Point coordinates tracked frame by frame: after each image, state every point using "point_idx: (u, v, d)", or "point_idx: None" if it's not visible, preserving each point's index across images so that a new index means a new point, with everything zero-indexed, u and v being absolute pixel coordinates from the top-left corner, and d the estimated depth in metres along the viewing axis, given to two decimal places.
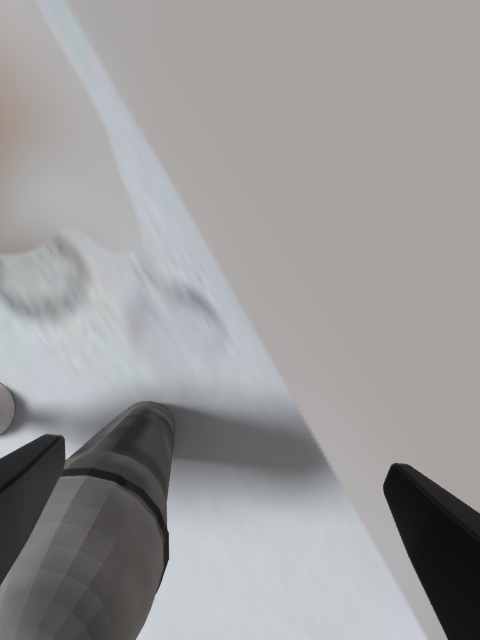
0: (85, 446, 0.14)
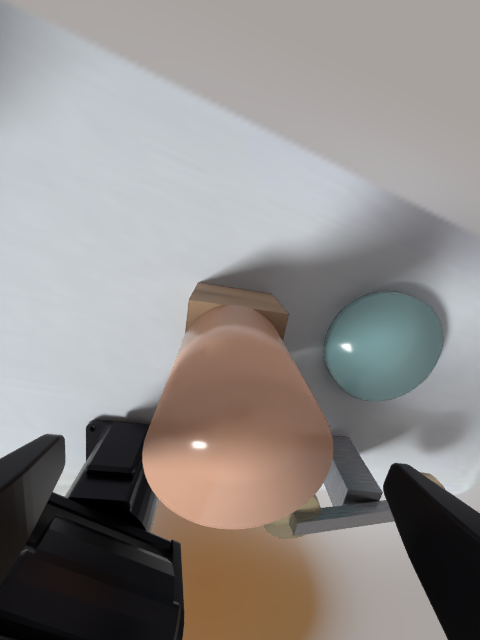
0: None
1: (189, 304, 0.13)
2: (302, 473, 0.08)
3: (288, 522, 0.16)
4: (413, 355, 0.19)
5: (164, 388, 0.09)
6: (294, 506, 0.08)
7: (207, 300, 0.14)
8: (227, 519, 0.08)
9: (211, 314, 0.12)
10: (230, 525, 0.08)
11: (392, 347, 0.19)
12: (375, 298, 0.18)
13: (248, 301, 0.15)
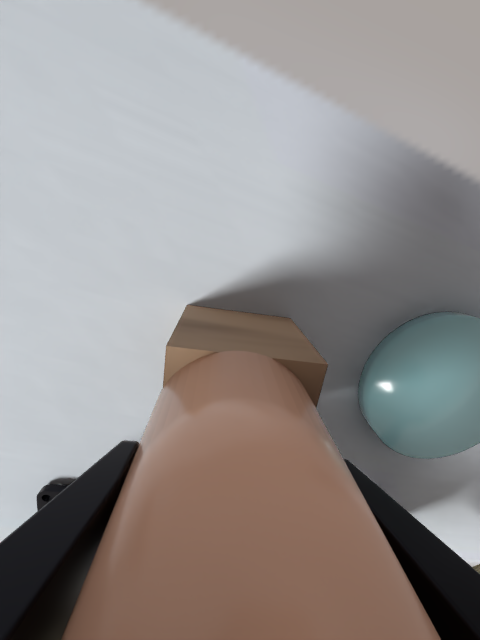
0: None
1: (167, 353, 0.08)
2: None
3: None
4: None
5: (68, 622, 0.03)
6: None
7: (197, 344, 0.08)
8: None
9: (197, 374, 0.07)
10: None
11: (455, 389, 0.13)
12: (436, 323, 0.12)
13: (261, 339, 0.10)
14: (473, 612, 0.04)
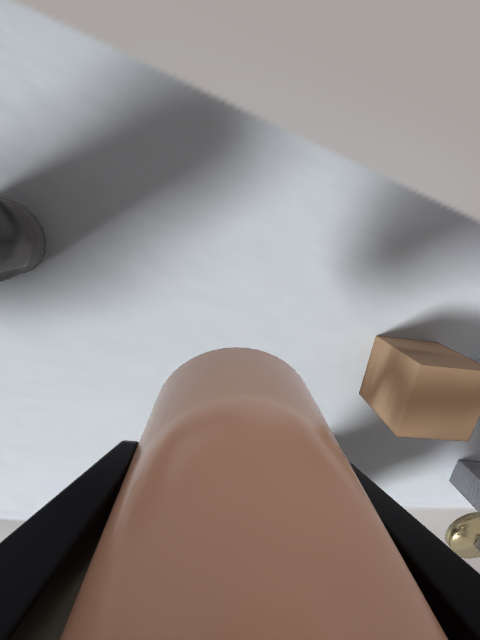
0: None
1: (421, 368, 0.16)
2: None
3: (473, 544, 0.19)
4: None
5: (68, 617, 0.03)
6: None
7: (429, 363, 0.16)
8: None
9: (197, 370, 0.07)
10: None
11: None
12: None
13: (449, 358, 0.17)
14: (473, 611, 0.04)
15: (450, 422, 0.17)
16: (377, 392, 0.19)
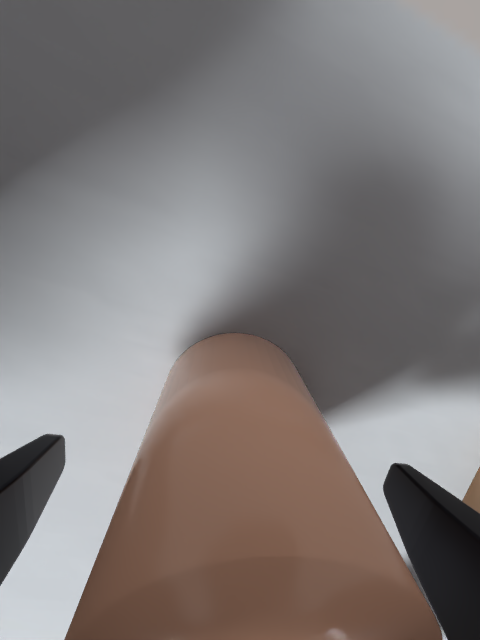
0: None
1: None
2: None
3: None
4: None
5: (116, 508, 0.05)
6: None
7: None
8: None
9: (203, 350, 0.09)
10: None
11: None
12: None
13: None
14: None
15: None
16: None
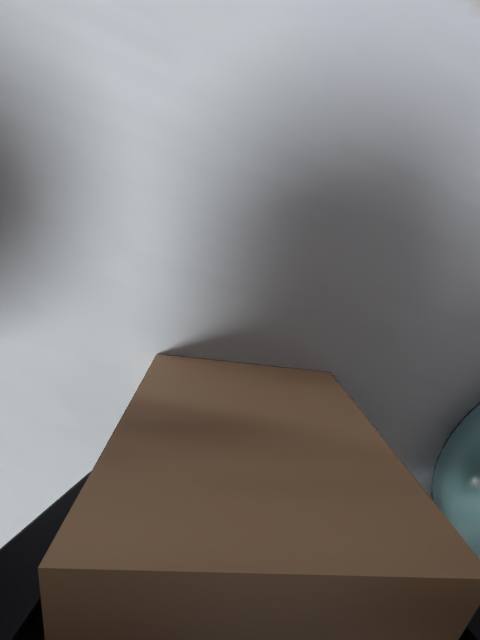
0: None
1: (44, 584, 0.03)
2: None
3: None
4: None
5: None
6: None
7: (142, 525, 0.03)
8: None
9: None
10: None
11: None
12: None
13: (299, 463, 0.04)
14: None
15: None
16: None
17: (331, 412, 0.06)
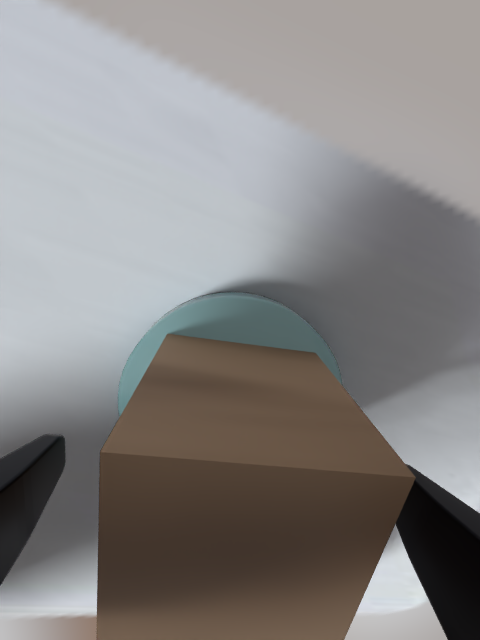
0: None
1: (103, 465, 0.04)
2: None
3: None
4: None
5: None
6: None
7: (167, 436, 0.04)
8: None
9: None
10: None
11: None
12: (189, 307, 0.09)
13: (282, 409, 0.06)
14: None
15: (270, 617, 0.05)
16: None
17: (312, 379, 0.07)
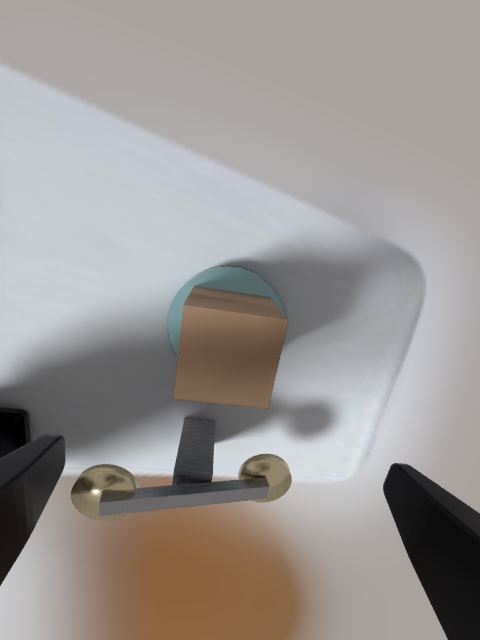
0: None
1: (183, 309, 0.12)
2: None
3: None
4: None
5: None
6: None
7: (202, 305, 0.13)
8: None
9: None
10: None
11: None
12: (205, 272, 0.17)
13: (246, 306, 0.14)
14: None
15: (240, 383, 0.14)
16: None
17: (263, 302, 0.16)
